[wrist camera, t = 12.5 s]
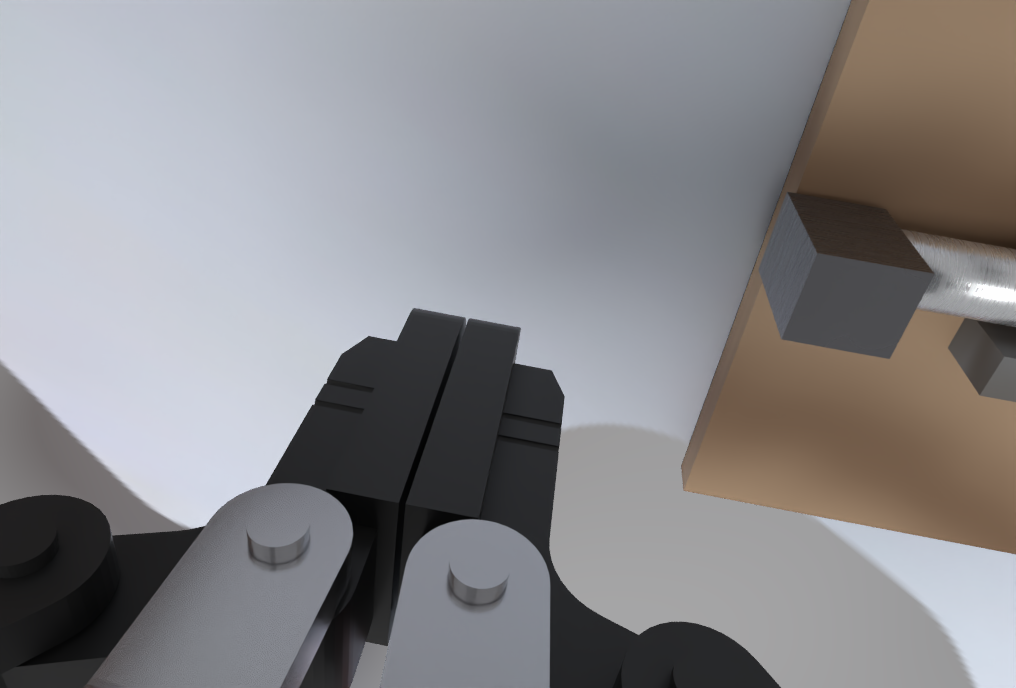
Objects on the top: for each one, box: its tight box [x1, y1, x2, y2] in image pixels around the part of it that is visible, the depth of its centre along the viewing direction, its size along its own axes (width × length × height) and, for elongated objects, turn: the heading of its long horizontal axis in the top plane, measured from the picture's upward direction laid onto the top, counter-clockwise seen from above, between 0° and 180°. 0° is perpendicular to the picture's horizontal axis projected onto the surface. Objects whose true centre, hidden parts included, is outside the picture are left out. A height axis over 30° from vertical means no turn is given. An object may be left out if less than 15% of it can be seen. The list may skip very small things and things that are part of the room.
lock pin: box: [758, 192, 1016, 359], centre depth 14 cm, size 2×9×3 cm, turn 82°
